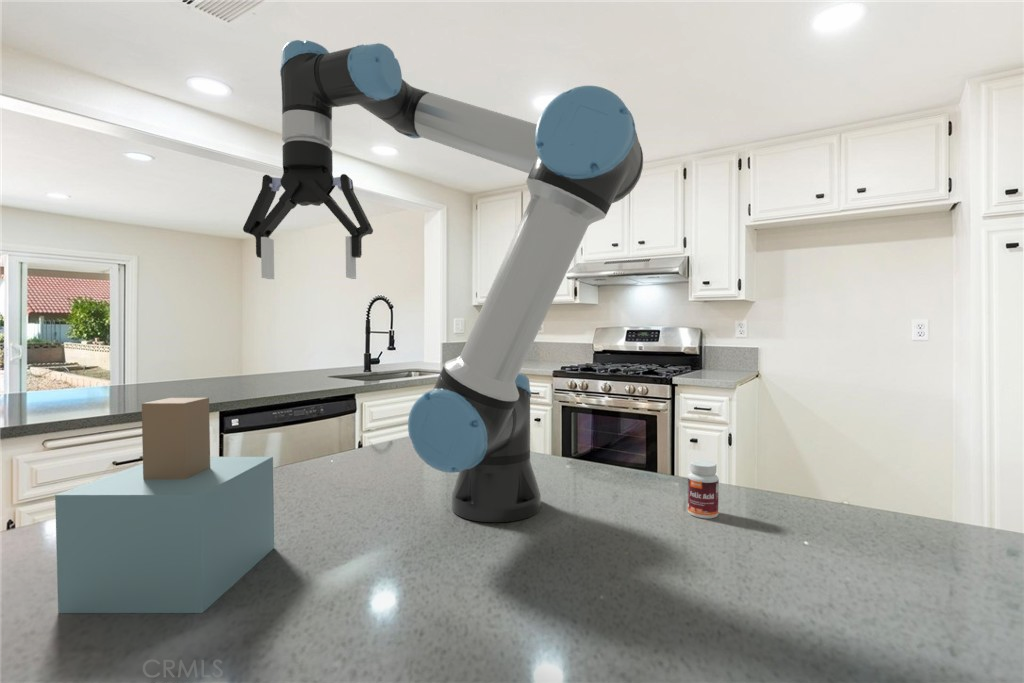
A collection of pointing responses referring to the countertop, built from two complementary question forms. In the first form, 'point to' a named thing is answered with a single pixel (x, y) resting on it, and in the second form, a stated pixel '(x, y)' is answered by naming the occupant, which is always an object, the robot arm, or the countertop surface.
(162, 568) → the pale blue storage box
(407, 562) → the countertop surface
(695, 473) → the pill bottle
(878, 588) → the countertop surface
